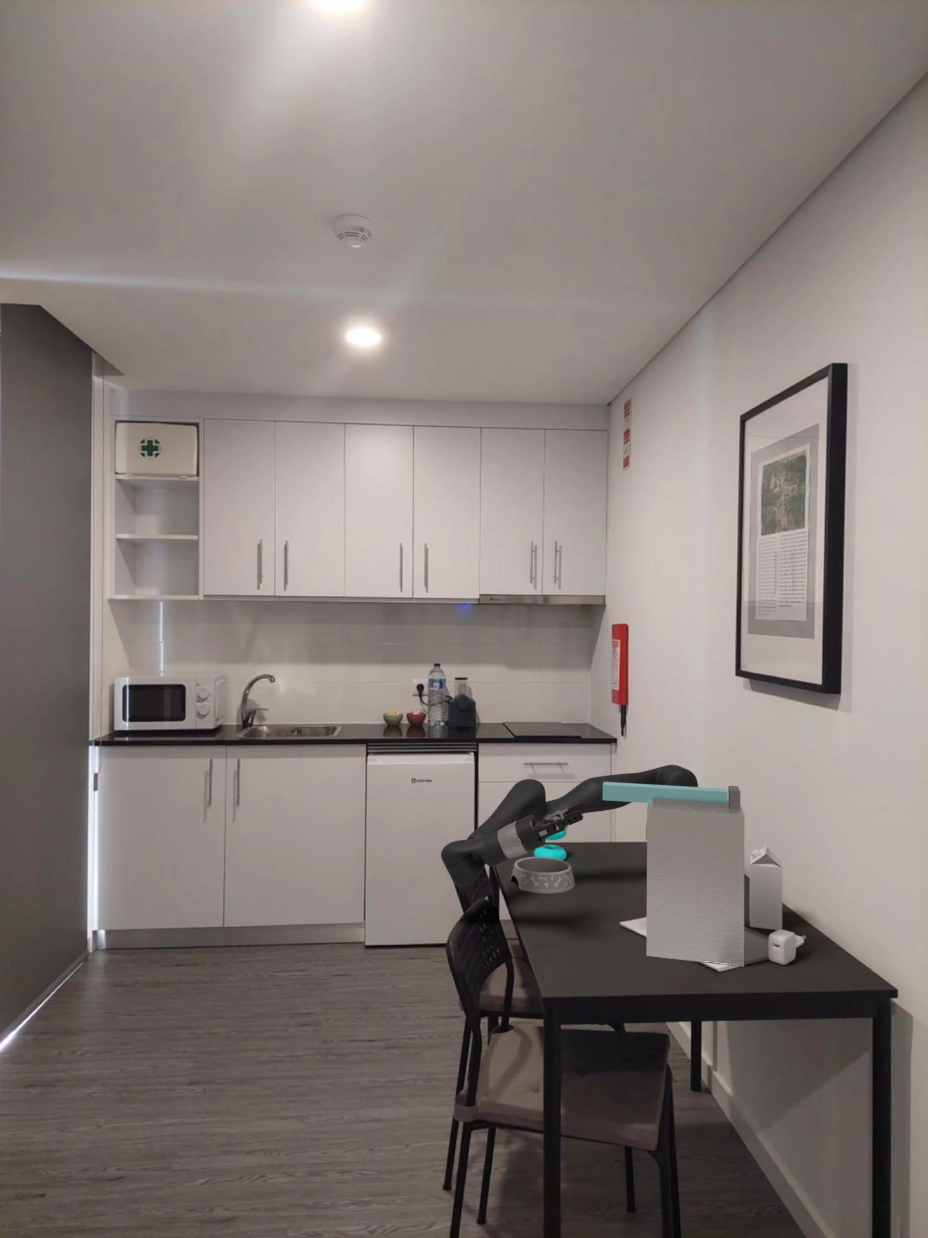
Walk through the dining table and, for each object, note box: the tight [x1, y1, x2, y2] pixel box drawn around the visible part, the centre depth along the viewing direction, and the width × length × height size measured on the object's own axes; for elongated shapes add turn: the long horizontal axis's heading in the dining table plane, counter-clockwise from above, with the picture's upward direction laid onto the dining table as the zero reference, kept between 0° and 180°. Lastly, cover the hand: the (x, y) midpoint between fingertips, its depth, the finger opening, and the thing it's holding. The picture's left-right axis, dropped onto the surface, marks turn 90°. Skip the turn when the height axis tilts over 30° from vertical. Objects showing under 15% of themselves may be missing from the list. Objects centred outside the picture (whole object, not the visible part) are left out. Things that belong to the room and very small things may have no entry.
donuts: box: [533, 828, 568, 861], centre depth 241 cm, size 10×10×10 cm
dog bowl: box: [509, 856, 576, 894], centre depth 218 cm, size 17×18×5 cm
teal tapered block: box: [603, 782, 728, 804], centre depth 175 cm, size 27×4×4 cm, turn 75°
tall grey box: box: [645, 785, 745, 967], centre depth 173 cm, size 20×14×36 cm
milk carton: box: [749, 841, 783, 931], centre depth 188 cm, size 7×7×19 cm
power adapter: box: [767, 928, 807, 966], centre depth 169 cm, size 11×5×6 cm, turn 132°
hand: (583, 810), depth 179 cm, fingers open, 8 cm apart
